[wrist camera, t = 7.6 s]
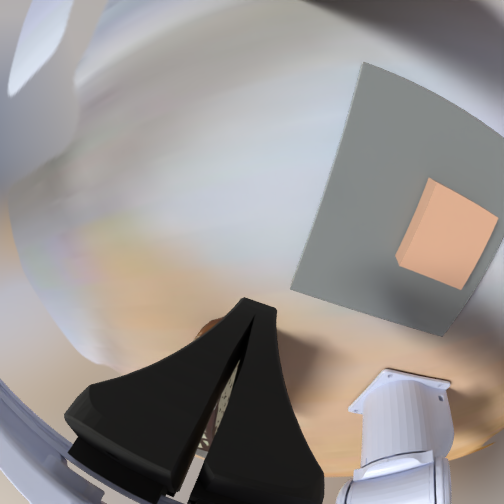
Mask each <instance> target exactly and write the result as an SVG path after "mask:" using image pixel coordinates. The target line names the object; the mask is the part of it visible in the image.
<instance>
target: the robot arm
mask: <svg viewBox="0 0 504 504" xmlns="http://www.w3.org/2000/svg"><path fill="white" fill-rule="evenodd" d="M276 317H277V310H276V308H274V307H271V306H268V305H265V304H262V303H259V302H256V301H253V300H251V299H248V298H245V297H244V298H242V299H240V301H239V302H238V303H237V304H236V305H235V307H234V308H233V309H232V310H231V311H230V312H229V313H228V314H227V315H226V316H225V317H223V318H222V319H221V320H220V321H219V322H218V323H216V324H215V325H214V326H213V327H212V328H211V329H209V330H208V331H207V332H205V333H204V334H203V335H201V336H200V337H199V338H197V339H196V340H194V341H193V342H191V343H190V344H188V345H187V346H185V347H184V348H182V349H180V350H179V351H177V352H175V353H173V354H172V355H170V356H168V357H166V358H164V359H162V360H160V361H158V362H156V363H154V364H152V365H150V366H147V367H145V368H142V369H140V370H137V371H134V372H132V373H129V374H127V375H124V376H121V377H118V378H114V379H110V380H107V381H103V382H99V383H95V384H91V385H89V386H88V387H87V388H86V389H85V390H84V391H83V392H82V393H81V394H80V395H79V396H78V397H77V398H76V399H75V401H74V402H73V403H72V405H71V406H70V407H69V409H68V410H67V411H66V413H65V414H64V418H65V421H66V422H67V423H68V425H69V426H70V427H71V429H72V430H73V431H74V432H75V433H76V435H77V436H78V438H77V439H76V441H75V442H74V444H72V443H71V442H69V441H68V440H67V439H65V438H64V437H63V436H61V435H60V434H59V433H57V432H56V431H55V430H54V429H52V428H51V427H50V426H49V425H48V424H47V423H45V422H44V421H43V420H42V419H41V418H40V417H38V416H37V415H36V414H35V413H34V412H33V411H32V410H31V409H29V408H28V407H27V406H26V405H25V404H24V403H23V402H22V401H21V400H20V399H19V398H18V397H17V396H16V395H15V394H14V393H13V392H12V391H11V390H10V389H9V388H8V387H7V386H6V385H5V383H4V382H3V381H2V380H1V379H0V470H1V471H2V472H3V473H4V475H5V476H6V477H7V478H8V479H9V481H10V482H11V483H12V484H13V485H14V486H15V487H16V488H17V490H18V491H19V492H20V493H21V494H22V495H23V496H24V497H25V498H26V499H27V500H28V501H29V502H30V504H106V503H105V502H103V501H101V499H102V497H103V495H104V491H103V490H101V489H100V488H98V487H97V486H95V485H93V484H92V483H90V482H89V481H87V480H86V479H84V478H83V477H81V476H80V475H78V474H77V473H75V472H74V471H72V470H71V469H70V468H69V467H68V466H67V460H69V461H70V462H71V463H73V464H74V465H76V466H77V467H78V468H80V469H81V470H83V471H84V472H86V473H87V474H89V475H90V476H92V477H94V478H95V479H97V480H98V481H100V482H102V483H103V484H105V485H107V486H108V487H110V488H112V489H113V490H115V491H117V492H119V493H121V494H122V495H124V496H126V497H128V498H130V499H132V500H134V501H136V502H138V503H140V504H183V503H180V502H178V501H175V500H173V499H170V498H168V497H166V494H167V495H169V496H172V497H174V495H175V493H176V492H178V491H180V489H181V486H182V484H183V482H184V479H185V477H186V474H187V472H188V470H189V467H190V465H191V463H192V460H193V458H194V456H195V453H196V451H197V449H198V446H199V444H200V441H201V439H202V437H203V434H204V432H205V430H206V427H207V425H208V422H209V420H210V418H211V415H212V413H213V411H214V408H215V406H216V404H217V402H218V400H219V399H220V397H221V395H222V393H223V391H224V389H225V387H226V385H227V383H228V382H229V380H230V378H231V376H232V374H233V372H234V370H235V368H236V366H237V364H238V362H239V364H238V368H237V372H236V375H235V379H234V383H233V386H232V390H231V394H230V397H229V401H228V404H227V407H226V409H225V412H224V414H223V417H222V419H221V422H220V424H219V427H218V429H217V431H216V434H215V436H214V439H213V441H212V444H211V446H210V448H209V451H208V453H207V455H206V458H205V460H204V463H203V466H202V468H201V471H200V473H199V476H198V478H197V481H196V483H195V485H194V488H193V490H192V492H191V495H190V498H189V500H188V502H187V504H322V502H323V498H324V473H323V471H322V469H321V467H320V466H319V464H318V462H317V461H316V459H315V457H314V455H313V454H312V452H311V450H310V448H309V446H308V444H307V442H306V440H305V438H304V436H303V433H302V431H301V429H300V426H299V424H298V421H297V419H296V416H295V414H294V411H293V409H292V406H291V403H290V400H289V396H288V393H287V389H286V386H285V382H284V378H283V374H282V369H281V364H280V358H279V351H278V343H277V330H276ZM239 360H240V361H239ZM449 386H450V382H449V381H444V380H438V379H433V378H428V377H422V376H418V375H413V374H408V373H403V372H399V371H394V370H390V369H384V370H383V371H381V373H380V374H379V375H378V376H377V377H376V378H375V379H374V381H373V382H372V383H371V384H370V385H369V386H368V387H367V388H366V389H365V391H364V392H363V393H362V394H361V395H360V396H359V397H358V398H357V399H356V400H355V401H354V402H353V403H352V404H351V405H350V406H349V407H348V411H349V412H353V413H358V414H363V430H362V453H361V468H360V469H356V470H354V476H353V478H351V479H349V480H348V481H347V482H346V483H345V484H344V485H343V487H342V488H341V489H340V491H339V494H338V496H337V500H336V504H451V476H450V467H449V461H448V459H447V458H445V457H446V456H447V454H448V453H449V451H450V449H451V447H452V443H453V439H454V427H453V422H452V416H451V411H450V406H449V402H448V397H447V393H446V390H447V389H448V388H449ZM64 457H65V458H66V459H67V460H66V459H65V458H64Z"/></svg>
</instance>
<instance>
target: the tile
mask: <svg viewBox="0 0 504 504" xmlns="http://www.w3.org/2000/svg"><path fill="white" fill-rule="evenodd" d="M497 220H498V217H496V216H495V215H494V214H492V213H491V212H490V211H488V210H487V209H485V208H483V207H482V206H480V205H479V204H477V203H475V202H474V201H472V200H470V199H468V198H467V197H465V196H463V195H461V194H460V193H458V192H456V191H454V190H452V189H451V188H449V187H447V186H445V185H443V184H441V183H439V182H437V181H435V180H433V179H431V178H428V181H427V183H426V186H425V189H424V191H423V194H422V196H421V199H420V201H419V204H418V206H417V209H416V211H415V213H414V216H413V218H412V220H411V222H410V225H409V227H408V229H407V231H406V234H405V236H404V238H403V240H402V242H401V244H400V246H399V248H398V251H397V253H396V255H395V257H396V259H397V261H398V264H399V266H401V267H404V268H406V269H409V270H412V271H414V272H417V273H419V274H422V275H425V276H427V277H430V278H432V279H435V280H437V281H440V282H442V283H445V284H447V285H450V286H452V287H455V288H457V289H460V290H461V289H462V288H463V286H464V285H465V283H466V281H467V279H468V278H469V276H470V274H471V273H472V271H473V269H474V267H475V265H476V264H477V262H478V260H479V258H480V256H481V254H482V252H483V250H484V248H485V246H486V244H487V242H488V240H489V238H490V236H491V234H492V232H493V229H494V227H495V225H496V223H497Z"/></svg>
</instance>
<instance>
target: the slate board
mask: <svg viewBox="0 0 504 504" xmlns="http://www.w3.org/2000/svg"><path fill="white" fill-rule="evenodd" d="M428 178H431V179H433V180H435V181H437V182H439V183H441V184H443V185H445V186H447V187H449V188H451V189H452V190H454V191H456V192H458V193H460V194H461V195H463V196H465V197H467V198H468V199H470V200H472V201H474V202H475V203H477V204H479V205H480V206H482V207H483V208H485V209H487V210H488V211H490V212H491V213H492V214H494V215H495V216H496V217H498V220H497V223H496V225H495V227H494V229H493V232H492V234H491V236H490V238H489V240H488V242H487V244H486V246H485V248H484V250H483V252H482V254H481V256H480V258H479V260H478V262H477V264H476V265H475V267H474V269H473V271H472V273H471V274H470V276H469V278H468V279H467V281H466V283H465V285H464V286H463V288H462V289H461V290H460V289H457V288H455V287H452V286H450V285H447V284H445V283H442V282H440V281H437V280H435V279H432V278H430V277H427V276H425V275H422V274H419V273H417V272H414V271H412V270H409V269H406V268H404V267H401V266H399V264H398V261H397V259H396V257H395V255H396V253H397V251H398V248H399V246H400V244H401V242H402V240H403V238H404V236H405V234H406V231H407V229H408V227H409V225H410V222H411V220H412V218H413V216H414V213H415V211H416V209H417V206H418V204H419V201H420V199H421V196H422V194H423V191H424V189H425V186H426V183H427V181H428ZM503 237H504V138H503V137H502V136H501V135H500V134H498V133H497V132H496V131H494V130H493V129H491V128H490V127H489V126H487V125H486V124H484V123H483V122H482V121H480V120H479V119H477V118H476V117H474V116H473V115H471V114H469V113H468V112H466V111H465V110H463V109H462V108H460V107H458V106H457V105H455V104H453V103H452V102H450V101H448V100H446V99H445V98H443V97H441V96H439V95H437V94H435V93H434V92H432V91H430V90H428V89H426V88H424V87H422V86H420V85H418V84H416V83H414V82H412V81H409V80H407V79H405V78H403V77H401V76H398V75H396V74H394V73H391V72H389V71H387V70H384V69H382V68H379V67H376V66H374V65H371V64H368V63H366V62H363V63H362V65H361V68H360V72H359V76H358V79H357V83H356V87H355V91H354V94H353V98H352V101H351V105H350V109H349V112H348V115H347V119H346V122H345V126H344V129H343V133H342V136H341V139H340V142H339V146H338V149H337V152H336V155H335V159H334V162H333V165H332V168H331V171H330V174H329V177H328V180H327V183H326V187H325V190H324V193H323V196H322V199H321V201H320V204H319V207H318V210H317V213H316V216H315V219H314V222H313V225H312V228H311V230H310V233H309V236H308V239H307V242H306V244H305V247H304V250H303V253H302V255H301V258H300V261H299V263H298V266H297V269H296V271H295V274H294V277H293V279H292V283H291V287H290V289H291V290H294V291H297V292H300V293H303V294H306V295H309V296H312V297H315V298H318V299H321V300H324V301H327V302H330V303H333V304H336V305H340V306H343V307H346V308H349V309H352V310H355V311H358V312H362V313H365V314H368V315H371V316H374V317H378V318H381V319H384V320H387V321H391V322H394V323H397V324H401V325H404V326H407V327H411V328H414V329H417V330H421V331H424V332H427V333H431V334H434V335H438V336H441V337H443V335H444V334H445V333H446V332H447V330H448V329H449V327H450V326H451V325H452V323H453V322H454V321H455V319H456V318H457V316H458V315H459V313H460V312H461V311H462V309H463V308H464V306H465V305H466V303H467V302H468V300H469V298H470V297H471V295H472V294H473V292H474V291H475V289H476V287H477V286H478V284H479V282H480V281H481V279H482V277H483V275H484V274H485V272H486V270H487V268H488V267H489V265H490V263H491V261H492V259H493V257H494V255H495V253H496V251H497V249H498V247H499V245H500V243H501V241H502V239H503Z"/></svg>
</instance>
